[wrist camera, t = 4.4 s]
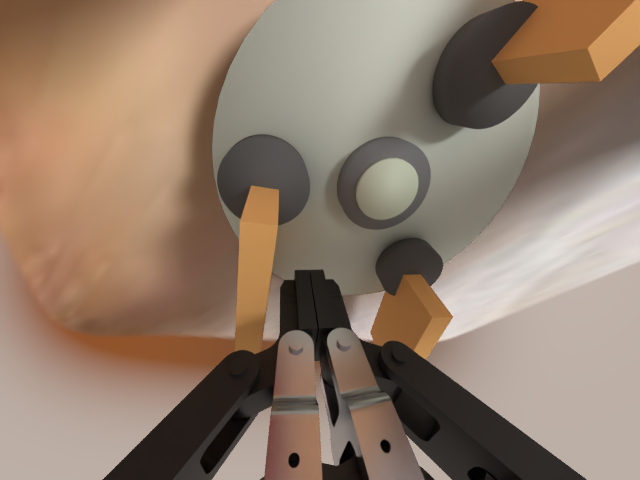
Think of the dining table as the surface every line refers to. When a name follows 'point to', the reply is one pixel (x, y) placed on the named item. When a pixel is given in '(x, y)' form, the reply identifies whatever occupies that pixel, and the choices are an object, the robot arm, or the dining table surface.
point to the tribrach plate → (368, 132)
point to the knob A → (260, 219)
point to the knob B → (410, 297)
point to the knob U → (529, 55)
